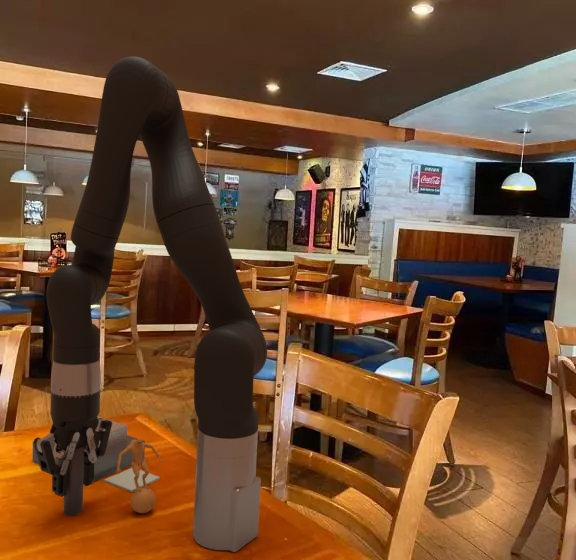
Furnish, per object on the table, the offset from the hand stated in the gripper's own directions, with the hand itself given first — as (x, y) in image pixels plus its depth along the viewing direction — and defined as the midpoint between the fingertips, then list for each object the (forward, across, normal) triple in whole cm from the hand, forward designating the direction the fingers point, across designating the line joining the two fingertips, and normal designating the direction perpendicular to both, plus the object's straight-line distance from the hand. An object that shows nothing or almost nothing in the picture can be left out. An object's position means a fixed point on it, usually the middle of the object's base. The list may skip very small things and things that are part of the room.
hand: (73, 488), depth 97 cm
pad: (+4, +14, +1) cm, 15 cm away
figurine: (+4, +7, -8) cm, 11 cm away
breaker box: (+4, +15, +14) cm, 21 cm away
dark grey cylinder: (+4, 0, 0) cm, 4 cm away
